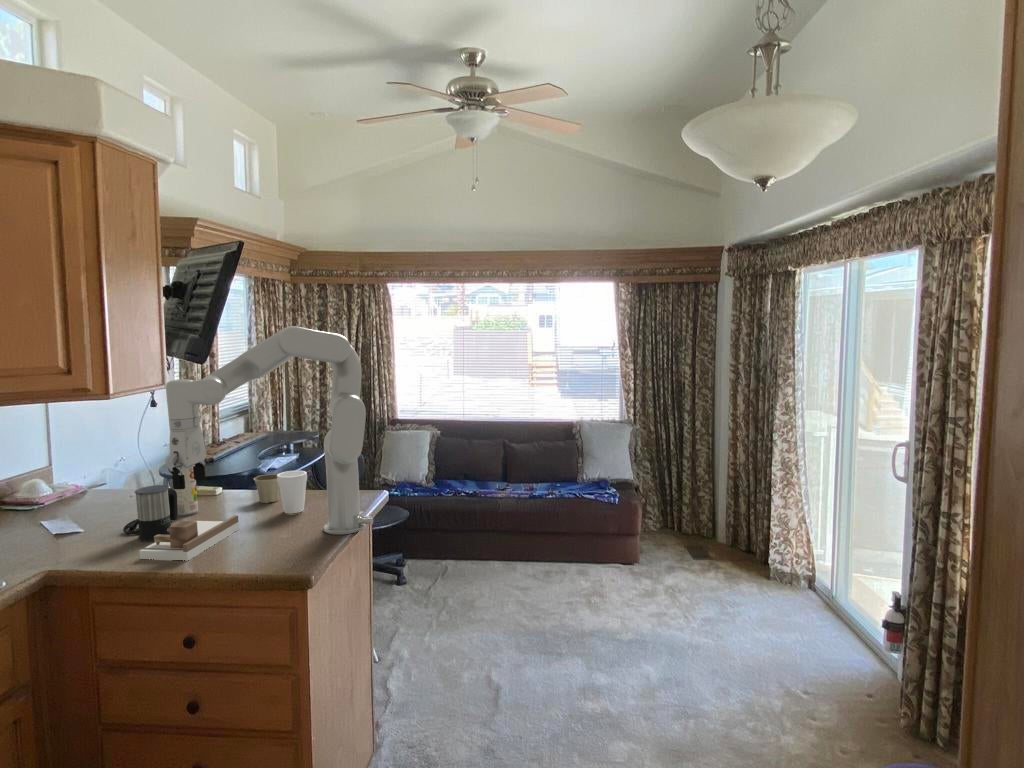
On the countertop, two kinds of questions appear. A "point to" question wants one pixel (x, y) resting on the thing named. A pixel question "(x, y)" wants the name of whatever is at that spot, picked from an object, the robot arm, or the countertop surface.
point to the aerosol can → (187, 494)
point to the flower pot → (267, 488)
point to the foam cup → (292, 490)
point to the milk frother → (153, 512)
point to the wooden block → (179, 534)
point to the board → (193, 541)
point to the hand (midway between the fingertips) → (190, 484)
